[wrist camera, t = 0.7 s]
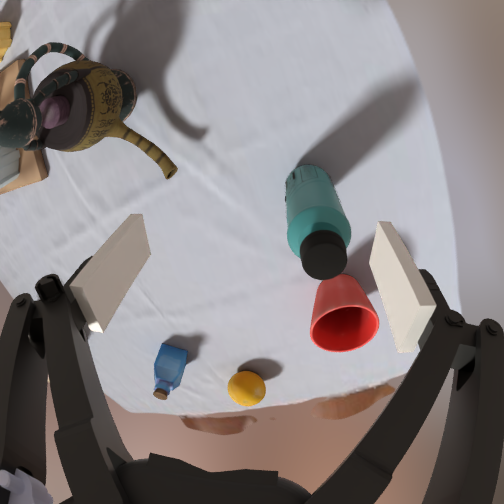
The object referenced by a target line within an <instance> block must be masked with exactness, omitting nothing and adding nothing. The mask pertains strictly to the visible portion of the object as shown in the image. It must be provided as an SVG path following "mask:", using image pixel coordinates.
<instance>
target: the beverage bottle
mask: <svg viewBox="0 0 504 504" xmlns="http://www.w3.org/2000/svg"><path fill="white" fill-rule="evenodd" d="M327 174H328V173H326V172H325V171H324V170H322V169H321V168H319V167H317V166H313V165H310V164H307V165H304V166H302V165H301V166H299V167H298V168H296V169H295V170H294V169H293V171H292V172H291V173H290V175H289V176H288V177H287V179H286V180H287V181H286V192H285V193H286V196H285V202H286V205H287V223H288V228H287V229H288V231H287V239H288V244H289V246H290V248H291V250H292V251H293V252H294V254H295V255H297V256H298V257H299V258H301V261H302V266H303V269H304V270H305V272H306V273H307V274H308V275H309V276H311V277H312V278H315V279H318V280H329V279H332V278H335V277H336V276H338V275H339V274H340V273H341V272H342V271H343V270H344V268H345V267H346V264H347V253H346V248H347V247H348V245H349V243H350V239H351V227H350V224H349V221H348V220H347V218H346V216H345V213H344V211H343V209H342V206H341V204H340V202H341V201H340V202H339V200H340V199H338V196H337V194H336V190H335V188H334V186H333V185H334V184H333V185H332V183H331V181H332V180H330V178H329V177H330V176H328V175H327ZM285 213H286V211H285Z"/></svg>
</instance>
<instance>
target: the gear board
mask: <svg viewBox="0 0 504 504" xmlns="http://www.w3.org/2000/svg"><path fill="white" fill-rule="evenodd" d="M24 62H25V59H21V60H17V61H15V62H14V63H13V64H11V65H10V66H9V67H7V68H6V69H5V70H4V71H2V72H1V73H0V111H2V110H3V109H4V108H5V107H6V105H7V104H9V103H11V102H13V101H14V87H15V81H16V77H17V75H18V73H19V71H20V69H21V67H22V65H23V63H24ZM25 99H30V95H29V89H28V82H27V80H26V85H25ZM34 139H35V140H38V137H37V136H36V135H35V137H34V138H33V140H34ZM18 149H19V153H20V158H19V167H18V171H19V173H20V174H19V176H18V178H17V179H15V180H14V181H12V182H10V183H9V184H7V185H6V186H4V187H2V188H1V189H0V195H1V194H3V193H6V192H9V191H12V190H14V189H17V188H20V187H23V186H26V185H29V184H32V183H35V182H39V181H42V180H43V179H45V178H47V177H48V174H47V171H46V167H45V164H44V160H43V156H42V152H41V150H36V151H24V149H23V148H16V150H18Z"/></svg>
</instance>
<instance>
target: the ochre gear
mask: <svg viewBox="0 0 504 504" xmlns="http://www.w3.org/2000/svg"><path fill="white" fill-rule="evenodd" d="M11 26H12V25H11V24H10V22H0V62H1V61H2V57H3V56H4V54H5V52H6V51H7V49H8V47H10V45H11V42H12V39H10V38H11V37H10V28H11Z"/></svg>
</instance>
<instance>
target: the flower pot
mask: <svg viewBox="0 0 504 504" xmlns="http://www.w3.org/2000/svg"><path fill="white" fill-rule="evenodd" d="M378 328H379V318H378V315H377V313H376V311H375V309H374V308H373V306H372V304H371V302H370V301H369V299H368V297H367V296H366V294H365V292H364V291H363V289H362V288H361V286H360V285H359V283H358V282H357V280H356V279H354V278H353V277H352V276H349V275H346V274H339V275H338V276H336V277H335V278H332V279H329V280H323V281H322V282H321V284H320V285H319V287H318V289H317V293H316V298H315V303H314V308H313V314H312V320H311V327H310V337H311V339H312V341H313V342H314V344H315V345H317V346H318V347H319V348H321V349H324V350H326V351H331V352H346V351H351V350H355V349H357V348H360V347H362V346H363V345H365V344H366V343H368V342H369V341H370V340H371V339H372V338H373V337H374V336H375V334H376V333H377V331H378Z"/></svg>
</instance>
